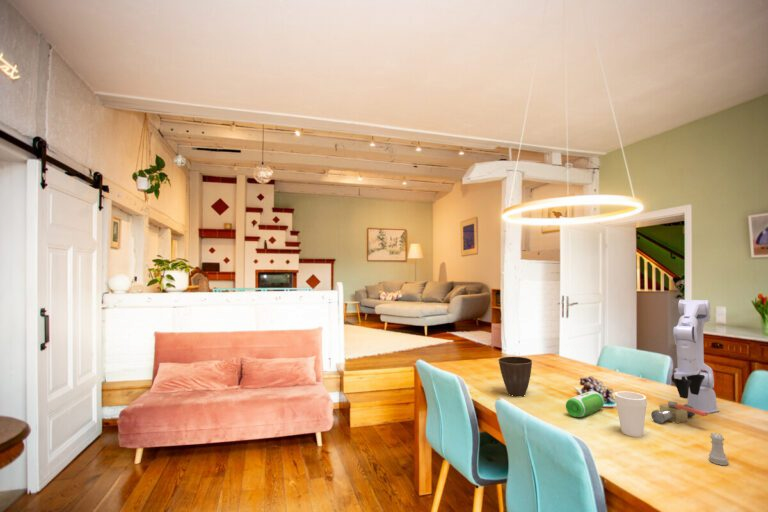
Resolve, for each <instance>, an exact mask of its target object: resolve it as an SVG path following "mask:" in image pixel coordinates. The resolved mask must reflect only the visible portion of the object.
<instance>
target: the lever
mask: <svg viewBox="0 0 768 512" xmlns="http://www.w3.org/2000/svg"><path fill="white" fill-rule="evenodd" d="M667 402H668V403H667V404H668V405H669V406H671V407H676V408H680V409H683V410H686V411H689V412H693V413H694V414H695V415H697V416H698V415H699V416H700V417H701V416H702V417H706V416H708V413H707V412H704V411H701V410H696V409H693V408H689V407H686V406H683V405H684V404H683V405H682V404H679V403H677V402H676V401H667Z"/></svg>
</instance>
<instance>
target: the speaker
mask: <svg viewBox="0 0 768 512" xmlns="http://www.w3.org/2000/svg"><path fill="white" fill-rule="evenodd" d="M604 404H605V398H604V396H603V395H602V394H601V393H600V392H598V391H594V390H589V391H586V392H583V393H581V394H578V395H575V396H573V397H570V398H569V399H568V400H567V401H566V402H565V409H566V411H567V413H568V414H569V415H570V416H571V417H573V418H574V417H575V418H582V417H587V416H589V415H592V414H594V413H596V412H597V411H599V410H602V409H601V408H603V406H604Z"/></svg>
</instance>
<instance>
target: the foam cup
mask: <svg viewBox="0 0 768 512" xmlns="http://www.w3.org/2000/svg"><path fill="white" fill-rule="evenodd" d="M647 400H648V399H647V397H646V395H644V394H642V393H638V392H636V391H635V392H633V391H629V390H628V391H624V390H623V391H622V390H621V391H620V390H619V391H616V392H614V401H615V404H616V405H615V406H616V410H617V415H618V419H619V426H620V430H621V433H622V434H624V435H625V434H626V436H629V437H632V438H633V437H634V438H635V437H636V438H640V437H643V436H644V433H645V431H644V430H645V420H646V411H647V405H648V401H647Z"/></svg>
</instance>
